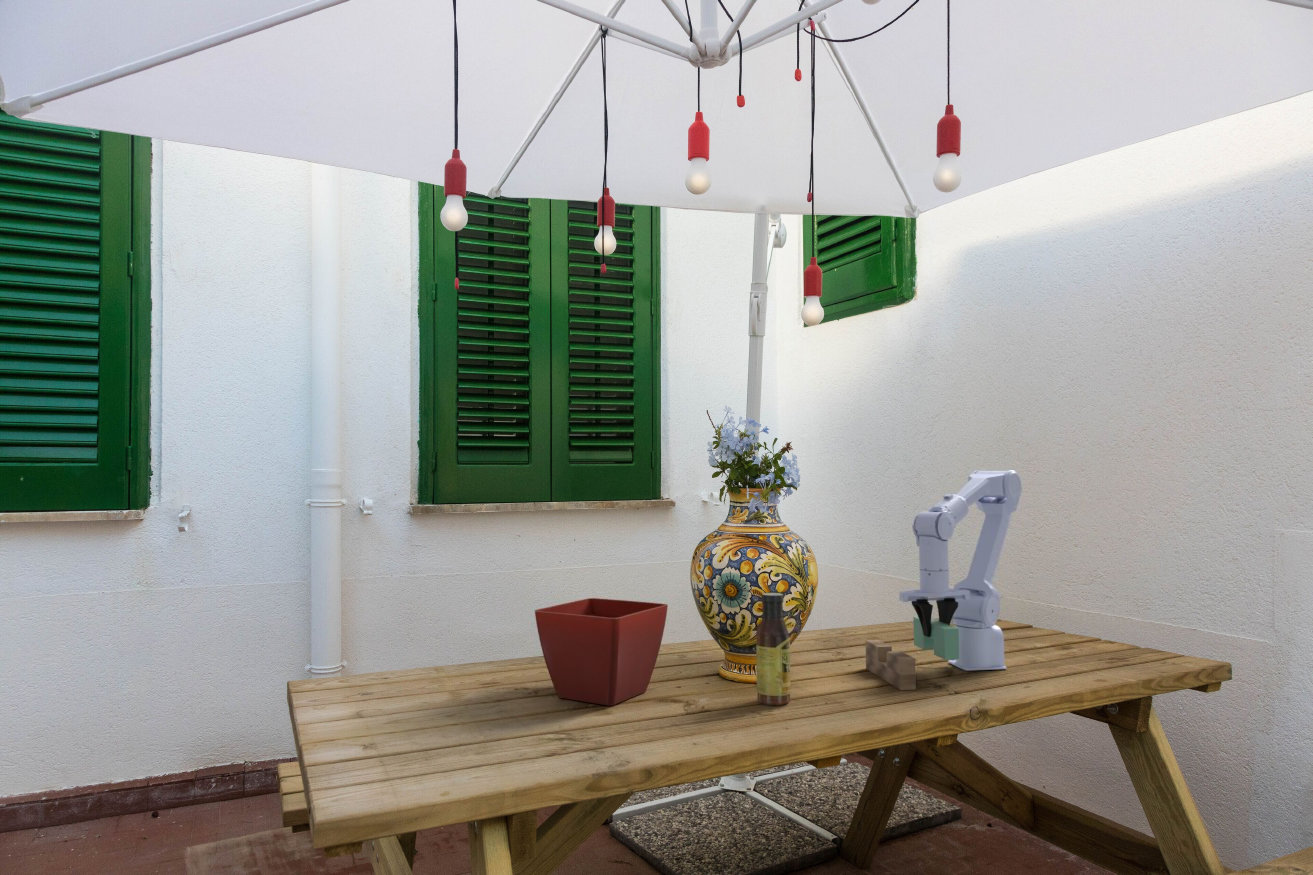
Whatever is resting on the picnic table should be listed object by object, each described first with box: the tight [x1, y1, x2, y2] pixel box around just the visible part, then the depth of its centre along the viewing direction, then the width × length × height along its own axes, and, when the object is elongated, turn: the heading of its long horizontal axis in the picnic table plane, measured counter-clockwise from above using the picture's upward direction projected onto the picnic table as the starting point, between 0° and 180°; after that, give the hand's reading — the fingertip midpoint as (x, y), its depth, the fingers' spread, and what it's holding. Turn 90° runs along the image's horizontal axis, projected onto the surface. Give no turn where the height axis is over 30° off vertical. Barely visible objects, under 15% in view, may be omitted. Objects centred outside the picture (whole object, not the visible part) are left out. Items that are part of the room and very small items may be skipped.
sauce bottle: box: [755, 592, 792, 706], centre depth 156 cm, size 6×6×20 cm
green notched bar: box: [912, 616, 959, 661], centre depth 174 cm, size 14×3×6 cm, turn 8°
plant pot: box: [534, 597, 668, 706], centre depth 162 cm, size 19×19×17 cm
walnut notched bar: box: [865, 639, 917, 691], centre depth 172 cm, size 18×3×6 cm, turn 8°
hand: (935, 635), depth 174 cm, fingers closed on green notched bar, 3 cm apart
